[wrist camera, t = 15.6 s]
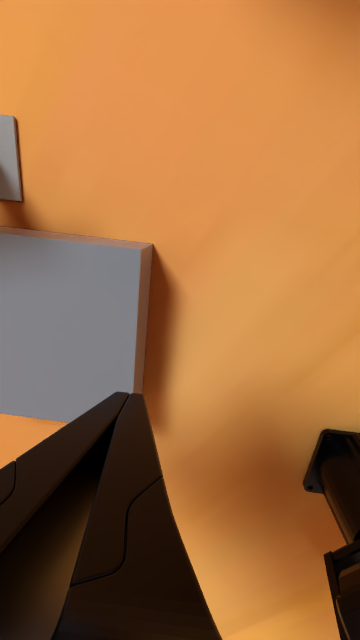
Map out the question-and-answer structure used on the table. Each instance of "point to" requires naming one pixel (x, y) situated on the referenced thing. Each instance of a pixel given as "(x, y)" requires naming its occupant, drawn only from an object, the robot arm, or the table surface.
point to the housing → (66, 312)
